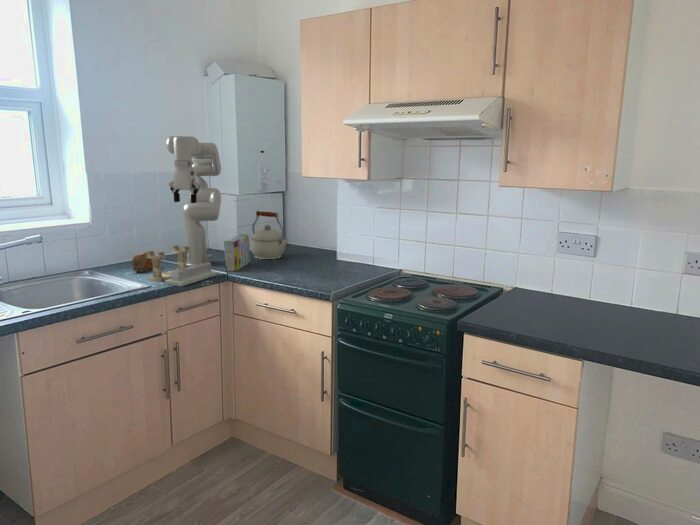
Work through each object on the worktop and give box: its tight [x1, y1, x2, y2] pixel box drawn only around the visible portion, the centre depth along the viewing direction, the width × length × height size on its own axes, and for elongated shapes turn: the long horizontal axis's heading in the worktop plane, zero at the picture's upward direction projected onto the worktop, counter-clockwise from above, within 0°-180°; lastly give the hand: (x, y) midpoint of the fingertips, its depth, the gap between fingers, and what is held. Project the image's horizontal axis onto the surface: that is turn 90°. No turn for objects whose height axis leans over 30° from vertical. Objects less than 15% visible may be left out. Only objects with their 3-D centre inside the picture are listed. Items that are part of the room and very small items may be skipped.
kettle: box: [250, 210, 289, 260], centre depth 292 cm, size 25×18×25 cm
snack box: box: [223, 233, 251, 272], centre depth 269 cm, size 21×6×15 cm, turn 171°
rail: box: [170, 262, 212, 282], centre depth 243 cm, size 22×4×4 cm, turn 156°
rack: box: [146, 244, 189, 283], centre depth 247 cm, size 20×7×13 cm, turn 156°
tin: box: [131, 251, 153, 273], centre depth 260 cm, size 15×3×8 cm, turn 168°
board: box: [164, 270, 218, 287], centre depth 243 cm, size 24×9×2 cm, turn 156°
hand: (185, 202), depth 249 cm, fingers open, 9 cm apart
